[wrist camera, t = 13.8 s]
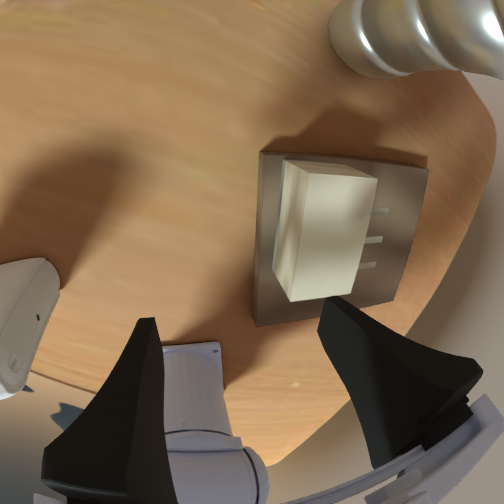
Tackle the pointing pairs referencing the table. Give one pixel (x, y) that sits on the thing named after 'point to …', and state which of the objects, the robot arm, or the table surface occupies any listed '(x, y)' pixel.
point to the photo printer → (23, 317)
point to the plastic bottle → (419, 36)
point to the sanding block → (321, 227)
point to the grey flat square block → (375, 246)
